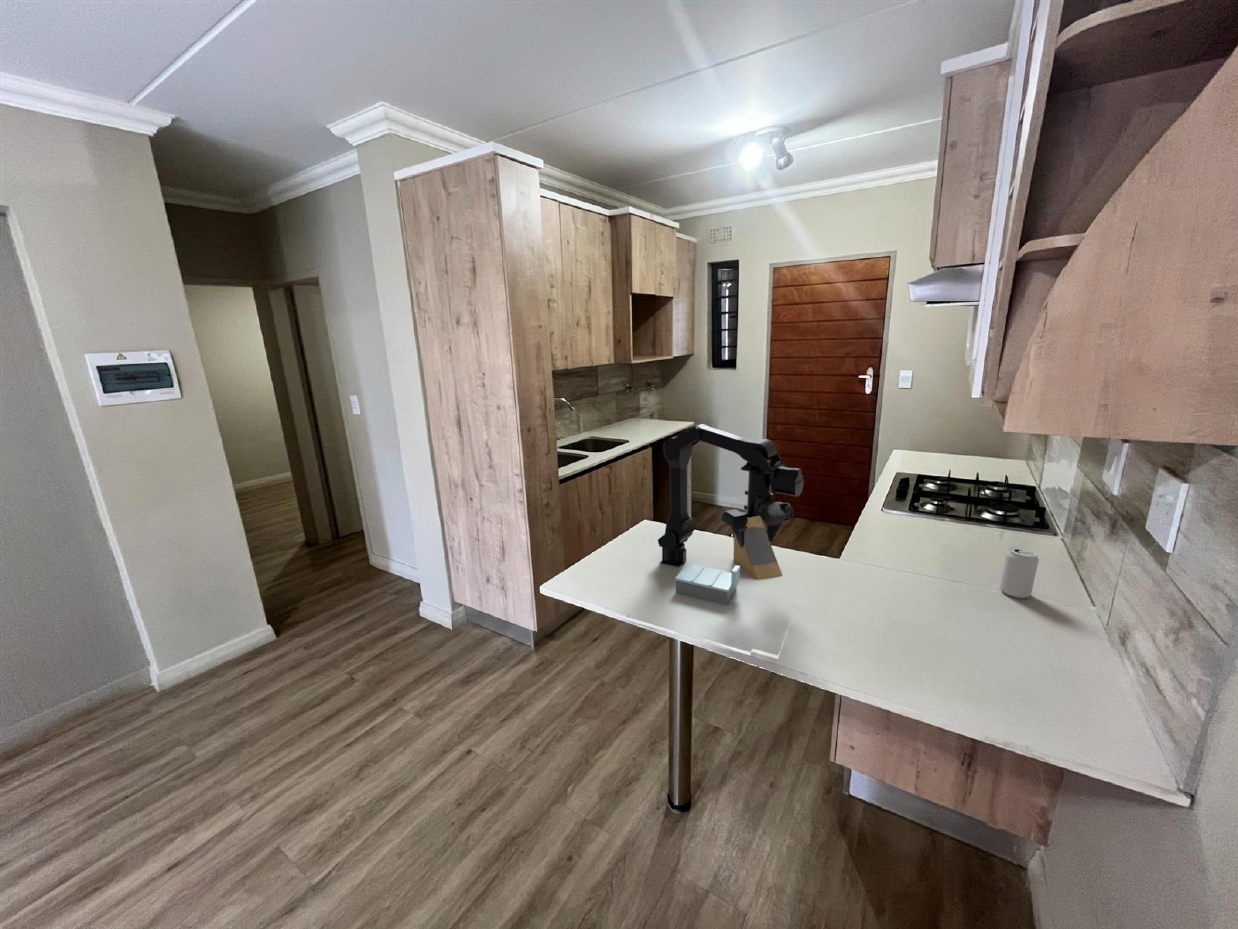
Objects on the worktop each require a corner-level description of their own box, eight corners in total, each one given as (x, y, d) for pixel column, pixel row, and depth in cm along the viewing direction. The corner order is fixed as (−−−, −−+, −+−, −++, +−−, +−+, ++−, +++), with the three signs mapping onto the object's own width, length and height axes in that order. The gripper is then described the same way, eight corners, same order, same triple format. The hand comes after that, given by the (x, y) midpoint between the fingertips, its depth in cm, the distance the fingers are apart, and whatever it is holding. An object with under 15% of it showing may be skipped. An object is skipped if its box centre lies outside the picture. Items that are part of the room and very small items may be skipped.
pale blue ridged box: (674, 580, 129) (674, 564, 127) (687, 565, 137) (687, 550, 135) (732, 593, 121) (733, 576, 120) (742, 577, 129) (743, 561, 128)
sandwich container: (758, 584, 135) (760, 534, 131) (732, 560, 149) (733, 515, 145) (785, 579, 137) (788, 530, 133) (757, 556, 151) (759, 511, 147)
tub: (675, 594, 130) (675, 581, 129) (687, 580, 137) (688, 567, 136) (726, 607, 123) (727, 593, 122) (736, 591, 131) (737, 577, 130)
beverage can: (1001, 584, 130) (1009, 544, 127) (1032, 593, 126) (1041, 551, 123) (997, 593, 126) (1005, 551, 123) (1028, 602, 121) (1038, 559, 118)
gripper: (747, 503, 114) (744, 563, 118) (810, 492, 120) (805, 550, 124) (721, 489, 124) (719, 545, 128) (781, 481, 130) (777, 534, 134)
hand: (756, 544), depth 128 cm, fingers open, 9 cm apart
